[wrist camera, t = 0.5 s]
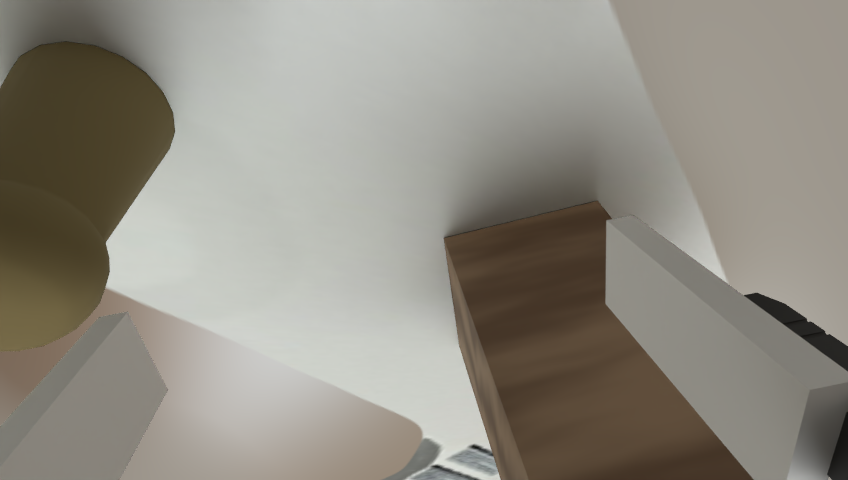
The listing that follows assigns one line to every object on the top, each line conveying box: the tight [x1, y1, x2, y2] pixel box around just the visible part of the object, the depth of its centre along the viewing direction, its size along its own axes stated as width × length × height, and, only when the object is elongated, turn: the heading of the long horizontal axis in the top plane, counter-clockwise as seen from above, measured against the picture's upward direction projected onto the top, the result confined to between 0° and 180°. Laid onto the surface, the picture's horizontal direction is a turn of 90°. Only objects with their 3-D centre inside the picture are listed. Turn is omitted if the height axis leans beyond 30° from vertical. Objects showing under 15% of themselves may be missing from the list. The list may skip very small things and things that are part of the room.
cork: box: [0, 42, 175, 352], centre depth 16 cm, size 6×6×11 cm
